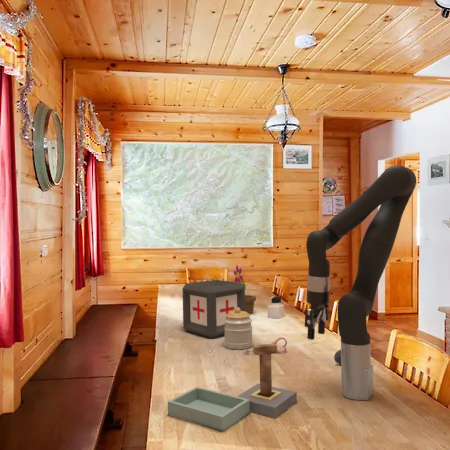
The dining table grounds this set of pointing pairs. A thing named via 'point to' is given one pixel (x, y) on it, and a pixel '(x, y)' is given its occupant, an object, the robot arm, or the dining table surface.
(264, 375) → the t key
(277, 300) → the medicine bottle
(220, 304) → the first aid kit
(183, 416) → the tray
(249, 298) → the flowerpot
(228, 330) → the jar
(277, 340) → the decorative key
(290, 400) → the plate
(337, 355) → the perforated stone tool
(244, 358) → the dining table surface
